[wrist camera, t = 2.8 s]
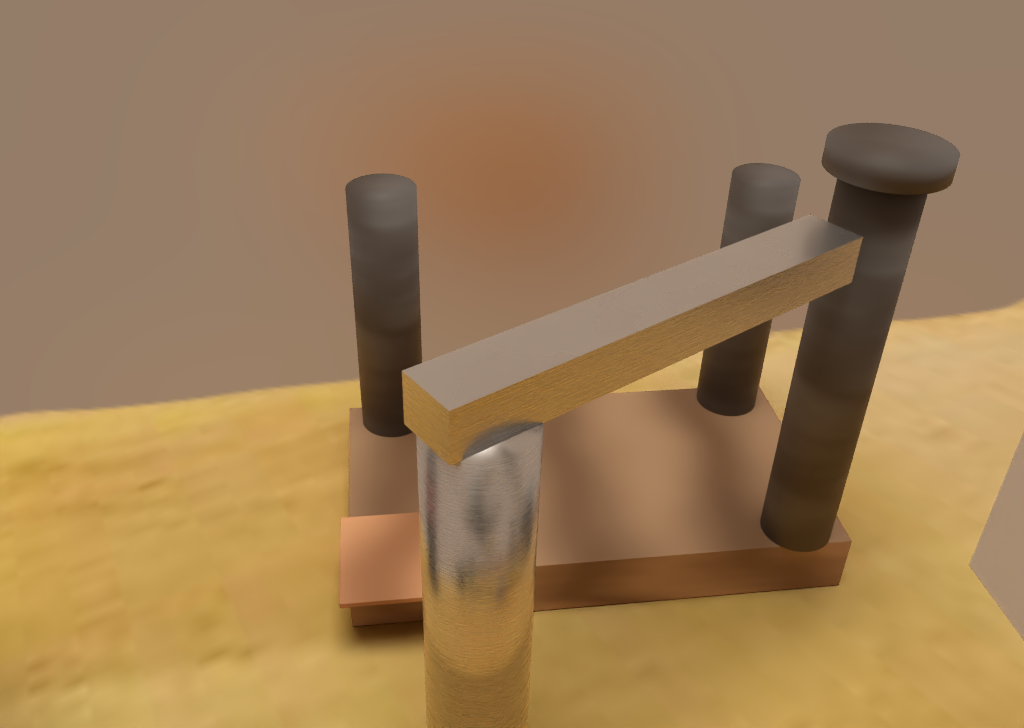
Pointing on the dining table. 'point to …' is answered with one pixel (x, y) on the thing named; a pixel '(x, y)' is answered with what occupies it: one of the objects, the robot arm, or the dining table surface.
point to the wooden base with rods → (654, 412)
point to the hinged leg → (519, 438)
